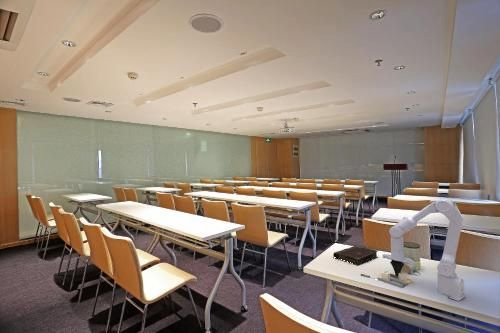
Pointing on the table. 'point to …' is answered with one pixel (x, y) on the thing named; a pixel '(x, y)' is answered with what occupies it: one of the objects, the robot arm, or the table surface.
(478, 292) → the table surface
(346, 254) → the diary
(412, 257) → the coffee can
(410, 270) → the ceramic mug
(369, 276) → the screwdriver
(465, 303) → the table surface
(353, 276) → the table surface
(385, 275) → the tab
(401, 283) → the switch bank
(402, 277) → the tab
